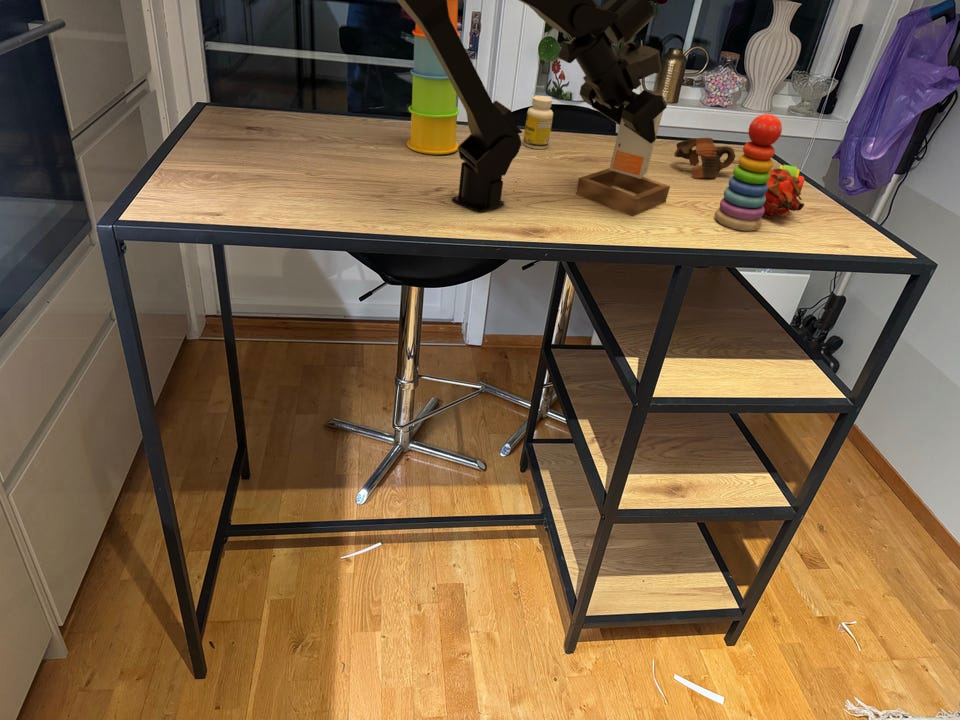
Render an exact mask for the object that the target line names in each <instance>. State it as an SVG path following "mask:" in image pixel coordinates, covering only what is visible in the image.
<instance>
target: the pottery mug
mask: <svg viewBox="0 0 960 720" xmlns="http://www.w3.org/2000/svg"><path fill="white" fill-rule="evenodd" d="M694 147H695V149H693V148H694ZM676 148H677V149H676V150H675V152H674V158H682V159H685V160H689V163H690V166H692V165H693V166H695V167H692V168H691V172H692V179H704V178H705V179H706V178H707V179H716V178H717V175H718V174H719V173H720V172H721V171H722V170H723V169H726V168H729V166H731V164H733V162H734V161H735V158H736V154H735V150H734V149H733V148H732V147H731V146H727V145H725V146H716V144H714V139H713V138H712V137H698V138H690V139H686V140H682V141H679V142H677V144H676ZM725 154H726V155H727V157H726V159H725V160H724V161H722V162H721V158H722V156H723V155H725ZM699 157H700V159H699ZM700 160H701V165H699V166H696V165H698V164H699V162H700Z"/></svg>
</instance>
